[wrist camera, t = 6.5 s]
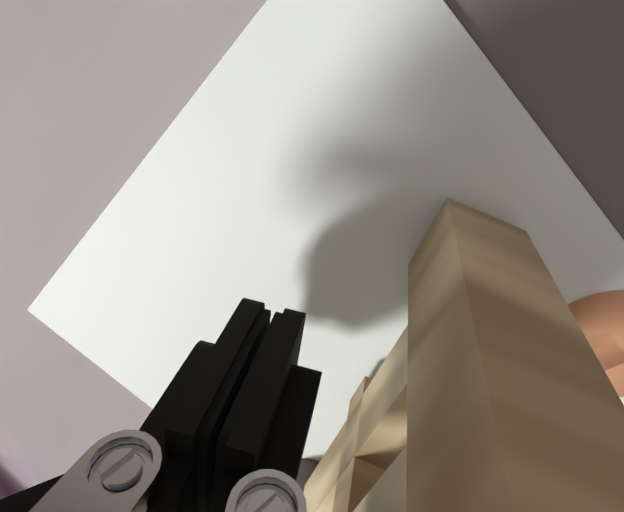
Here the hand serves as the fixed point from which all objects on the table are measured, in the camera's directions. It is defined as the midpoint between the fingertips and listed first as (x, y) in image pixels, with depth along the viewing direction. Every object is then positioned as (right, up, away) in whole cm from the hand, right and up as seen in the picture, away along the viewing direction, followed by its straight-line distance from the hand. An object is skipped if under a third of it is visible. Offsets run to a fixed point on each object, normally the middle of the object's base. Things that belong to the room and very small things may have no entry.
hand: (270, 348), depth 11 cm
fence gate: (+3, -1, +2) cm, 4 cm away
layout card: (+5, -3, +3) cm, 7 cm away
